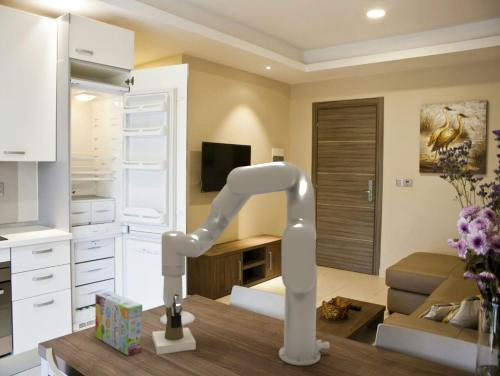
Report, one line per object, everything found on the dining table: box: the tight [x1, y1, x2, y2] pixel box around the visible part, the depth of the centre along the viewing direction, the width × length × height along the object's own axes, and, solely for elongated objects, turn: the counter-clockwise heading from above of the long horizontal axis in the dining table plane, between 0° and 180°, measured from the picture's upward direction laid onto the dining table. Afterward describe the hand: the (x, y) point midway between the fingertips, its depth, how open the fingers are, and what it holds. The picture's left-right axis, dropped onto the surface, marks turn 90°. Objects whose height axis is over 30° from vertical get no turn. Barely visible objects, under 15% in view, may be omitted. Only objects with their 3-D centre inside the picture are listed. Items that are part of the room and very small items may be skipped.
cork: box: [165, 305, 184, 340], centre depth 137 cm, size 6×6×11 cm
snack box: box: [94, 290, 143, 357], centre depth 137 cm, size 21×6×15 cm, turn 47°
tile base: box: [151, 327, 197, 355], centre depth 137 cm, size 12×12×2 cm
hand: (173, 321), depth 137 cm, fingers open, 9 cm apart
